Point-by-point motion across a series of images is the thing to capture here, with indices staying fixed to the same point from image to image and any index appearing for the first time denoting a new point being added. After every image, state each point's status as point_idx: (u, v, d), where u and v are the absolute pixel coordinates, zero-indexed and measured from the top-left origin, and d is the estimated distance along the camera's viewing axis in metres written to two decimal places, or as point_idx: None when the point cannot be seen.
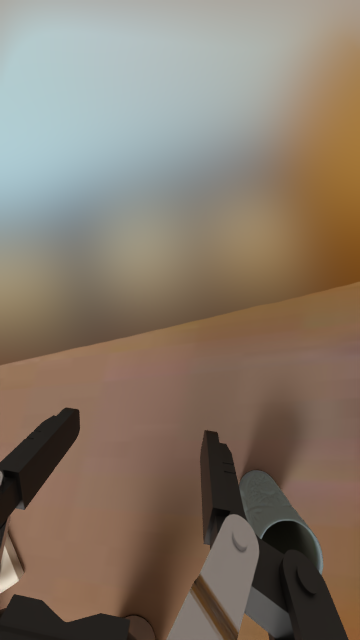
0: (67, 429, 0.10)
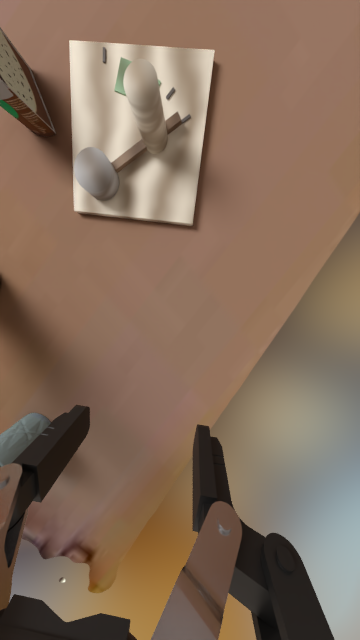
0: (79, 426, 0.10)
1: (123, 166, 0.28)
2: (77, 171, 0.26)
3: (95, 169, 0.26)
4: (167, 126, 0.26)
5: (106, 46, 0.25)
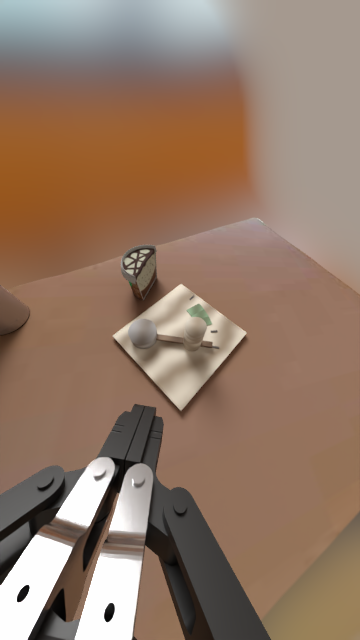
0: None
1: (162, 340, 0.38)
2: (133, 324, 0.37)
3: (144, 331, 0.36)
4: (202, 343, 0.37)
5: (195, 296, 0.46)
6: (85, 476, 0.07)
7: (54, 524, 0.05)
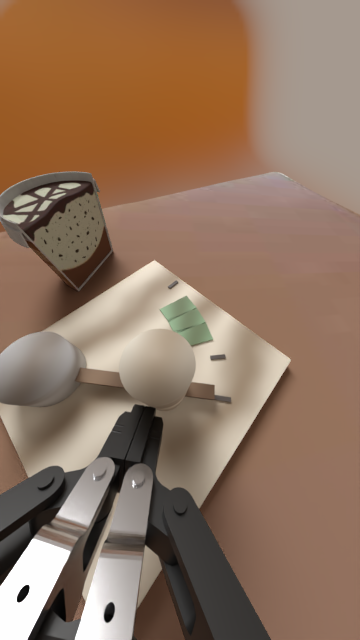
0: None
1: (92, 383, 0.15)
2: (13, 347, 0.14)
3: (36, 366, 0.14)
4: (189, 390, 0.15)
5: (180, 281, 0.23)
6: (85, 476, 0.07)
7: (54, 524, 0.05)
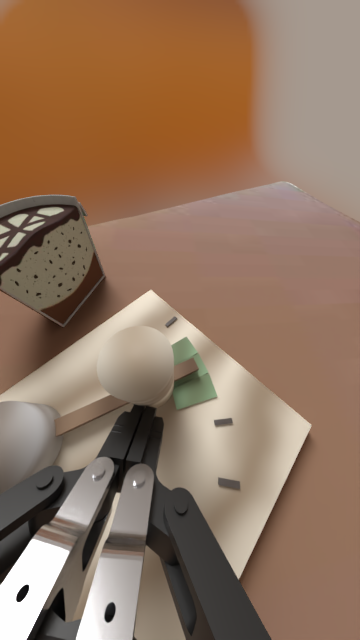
0: (140, 423, 0.10)
1: (78, 426, 0.14)
2: None
3: None
4: (175, 374, 0.16)
5: (179, 317, 0.20)
6: (84, 476, 0.07)
7: (53, 524, 0.05)
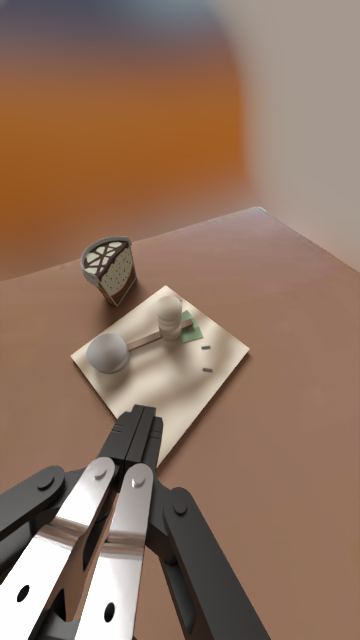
0: None
1: (137, 347, 0.29)
2: (90, 349, 0.26)
3: (109, 349, 0.27)
4: (181, 325, 0.31)
5: (182, 300, 0.36)
6: (85, 476, 0.07)
7: (54, 524, 0.05)
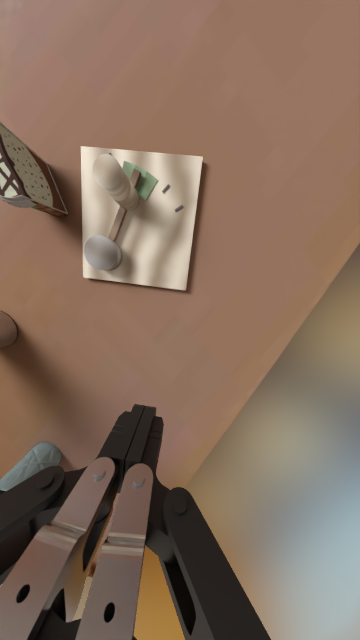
0: None
1: (117, 234, 0.32)
2: (90, 261, 0.31)
3: (101, 250, 0.31)
4: (132, 183, 0.30)
5: (111, 151, 0.30)
6: (85, 476, 0.07)
7: (54, 524, 0.05)
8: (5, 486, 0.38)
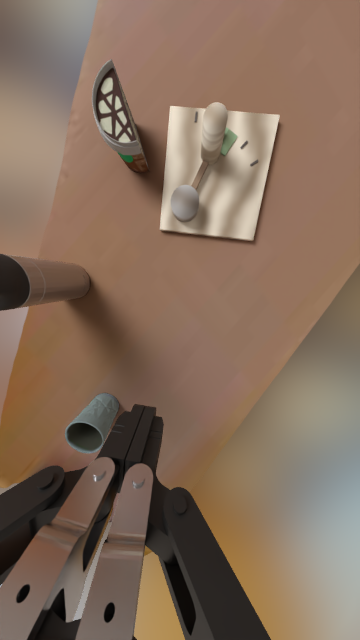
0: None
1: (197, 186, 0.36)
2: (175, 209, 0.36)
3: (186, 199, 0.35)
4: None
5: (198, 110, 0.34)
6: (85, 476, 0.07)
7: (54, 524, 0.05)
8: (85, 420, 0.42)
